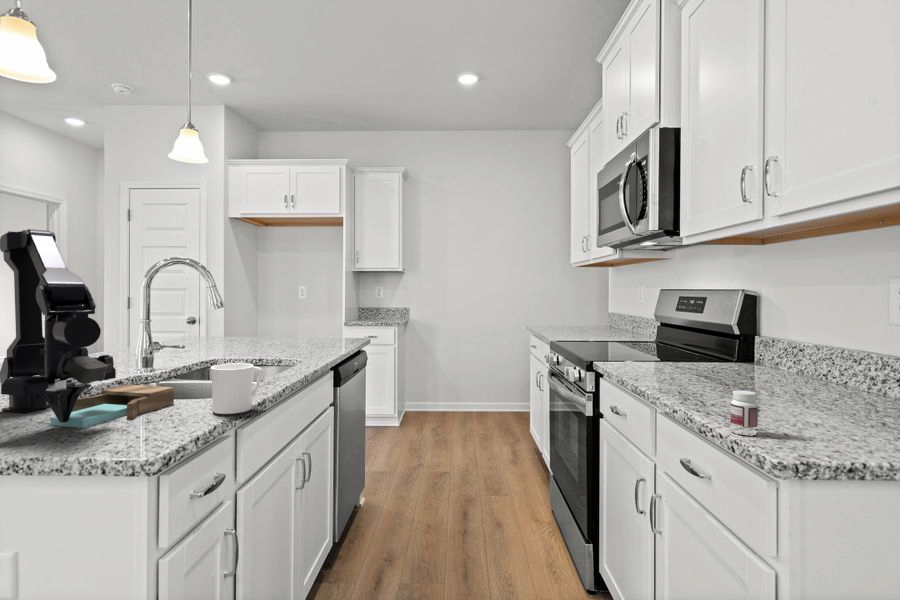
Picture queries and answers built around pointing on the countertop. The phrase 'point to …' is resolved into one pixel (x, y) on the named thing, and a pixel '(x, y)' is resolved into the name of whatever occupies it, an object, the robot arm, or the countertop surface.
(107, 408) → the panel
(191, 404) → the countertop surface
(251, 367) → the mug
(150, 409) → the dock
